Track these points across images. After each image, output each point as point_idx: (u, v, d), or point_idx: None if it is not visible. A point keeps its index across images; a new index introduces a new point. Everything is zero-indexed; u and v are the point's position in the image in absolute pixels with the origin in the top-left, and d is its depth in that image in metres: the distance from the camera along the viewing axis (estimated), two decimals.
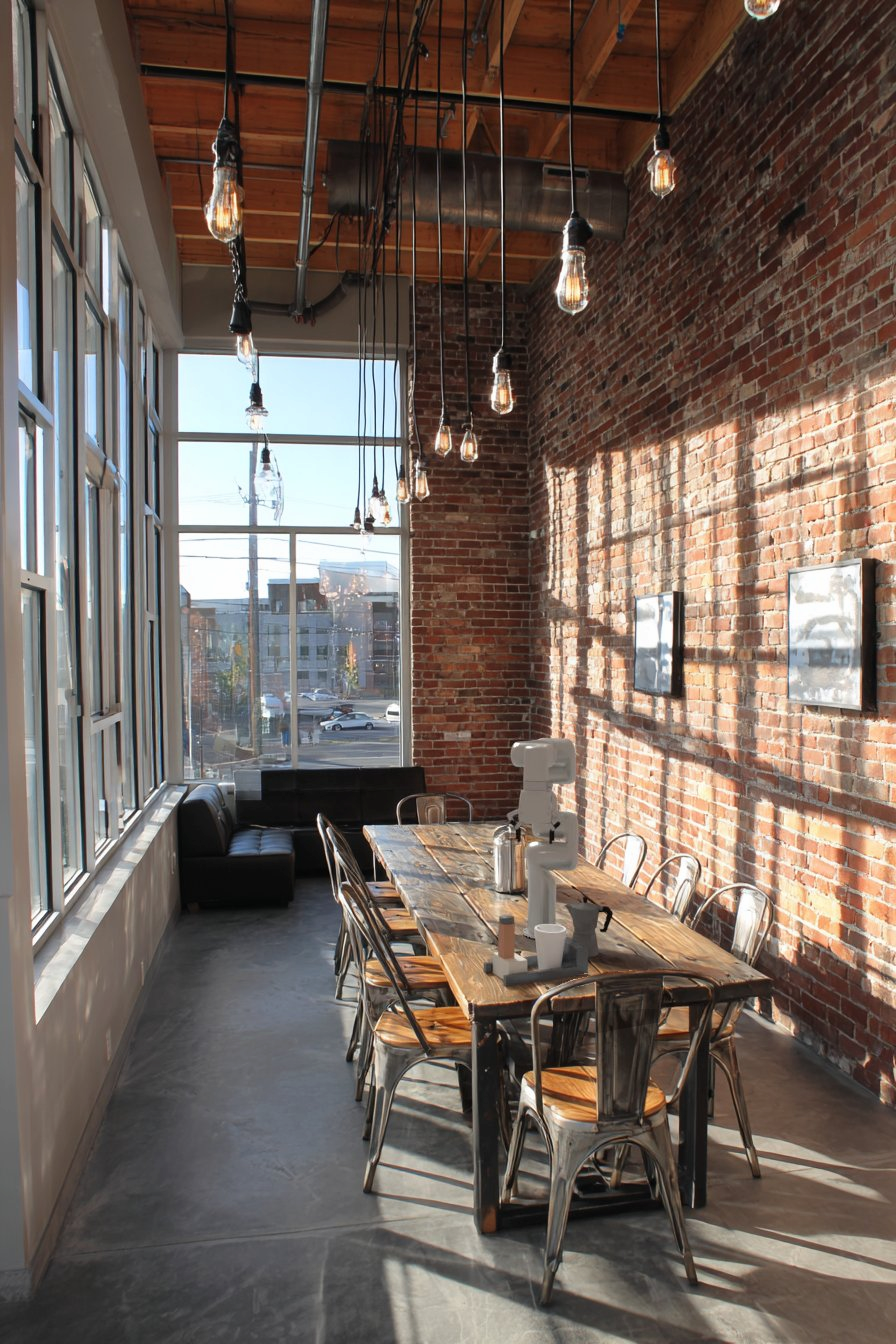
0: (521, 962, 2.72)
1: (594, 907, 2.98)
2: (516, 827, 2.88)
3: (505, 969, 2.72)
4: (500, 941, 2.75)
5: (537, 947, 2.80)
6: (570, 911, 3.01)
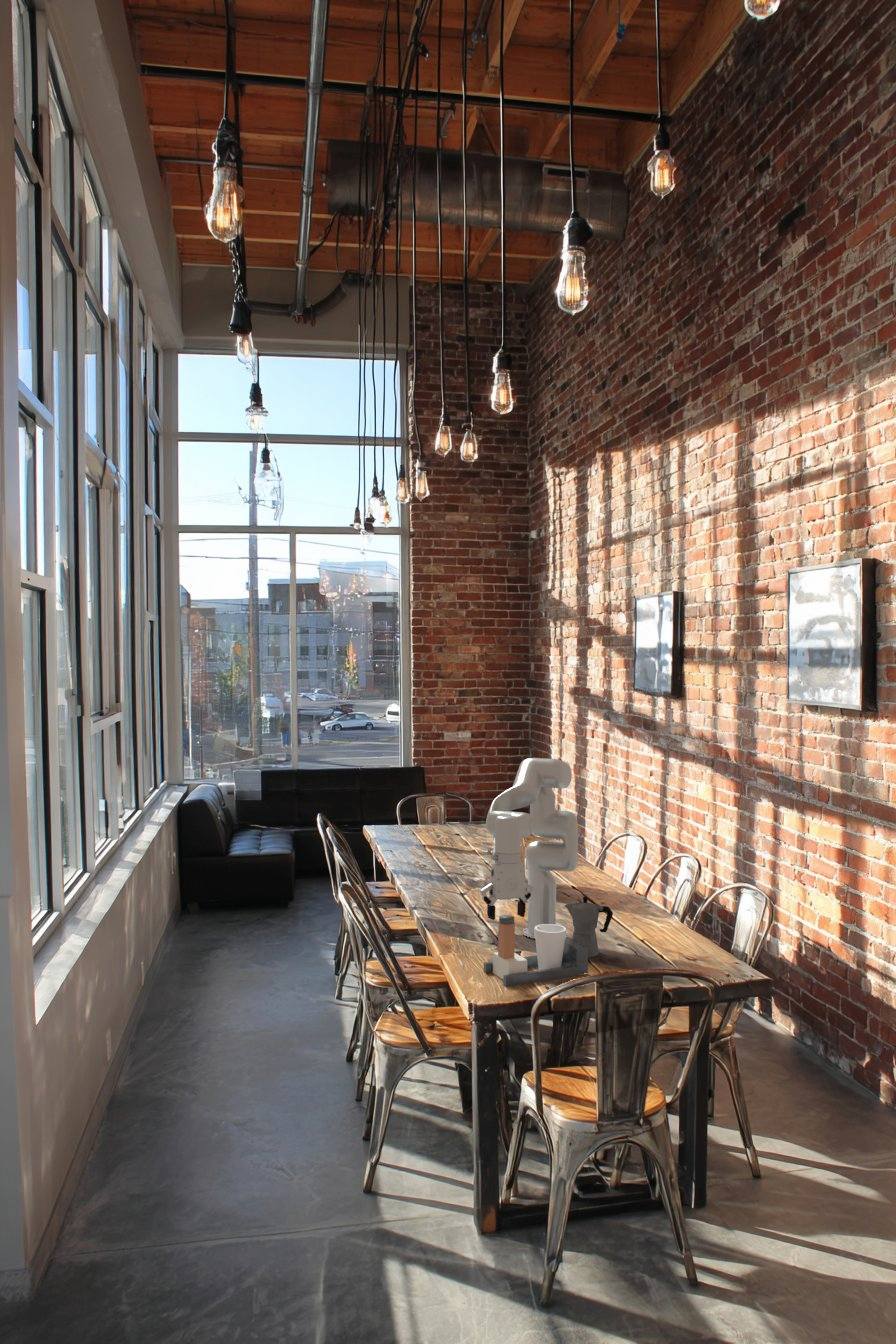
0: (521, 962, 2.72)
1: (594, 907, 2.98)
2: None
3: (505, 969, 2.72)
4: (500, 941, 2.75)
5: (537, 947, 2.80)
6: (570, 911, 3.01)
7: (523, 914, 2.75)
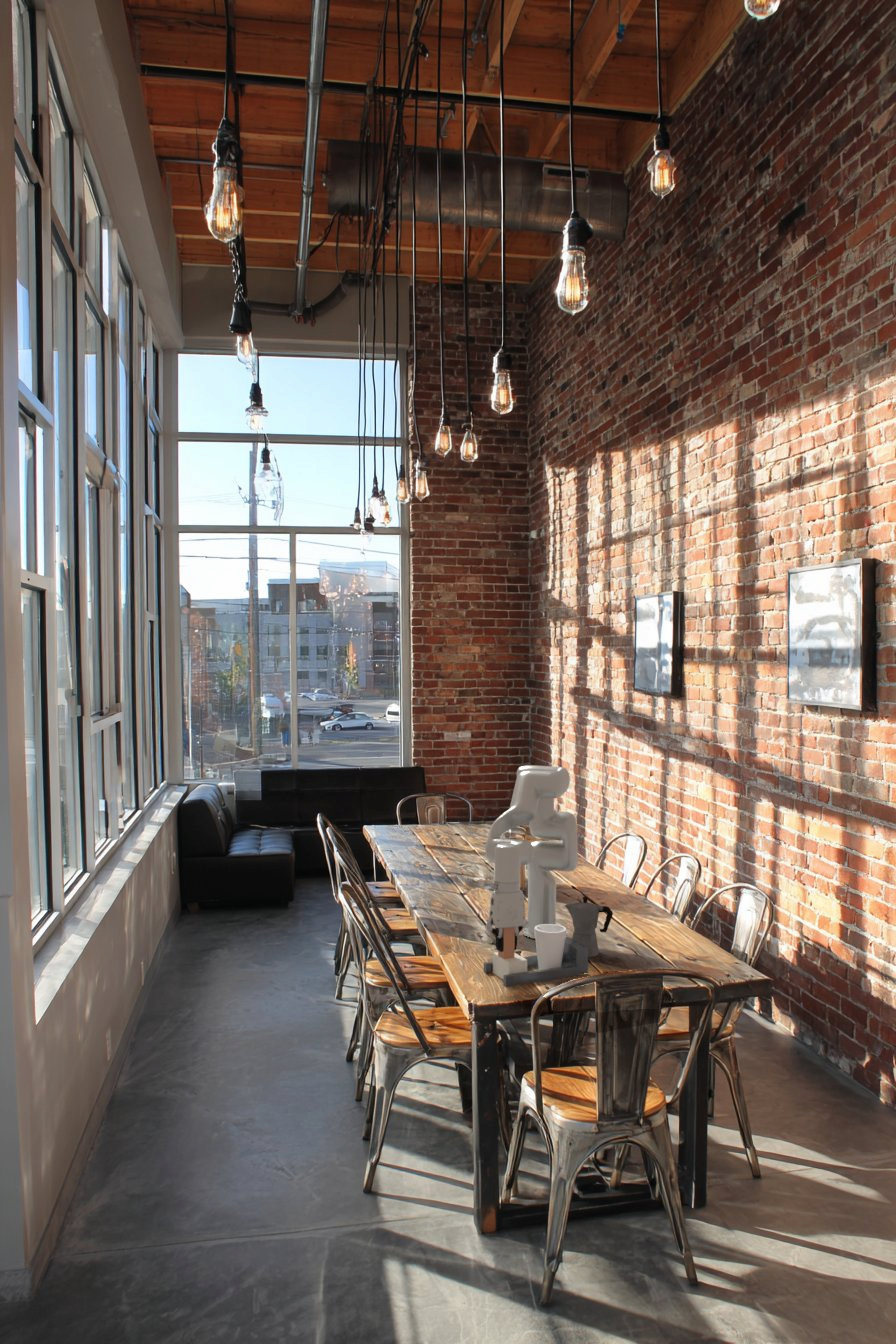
0: (521, 962, 2.72)
1: (594, 907, 2.98)
2: None
3: (505, 969, 2.72)
4: None
5: (537, 947, 2.80)
6: (570, 911, 3.01)
7: (515, 947, 2.75)
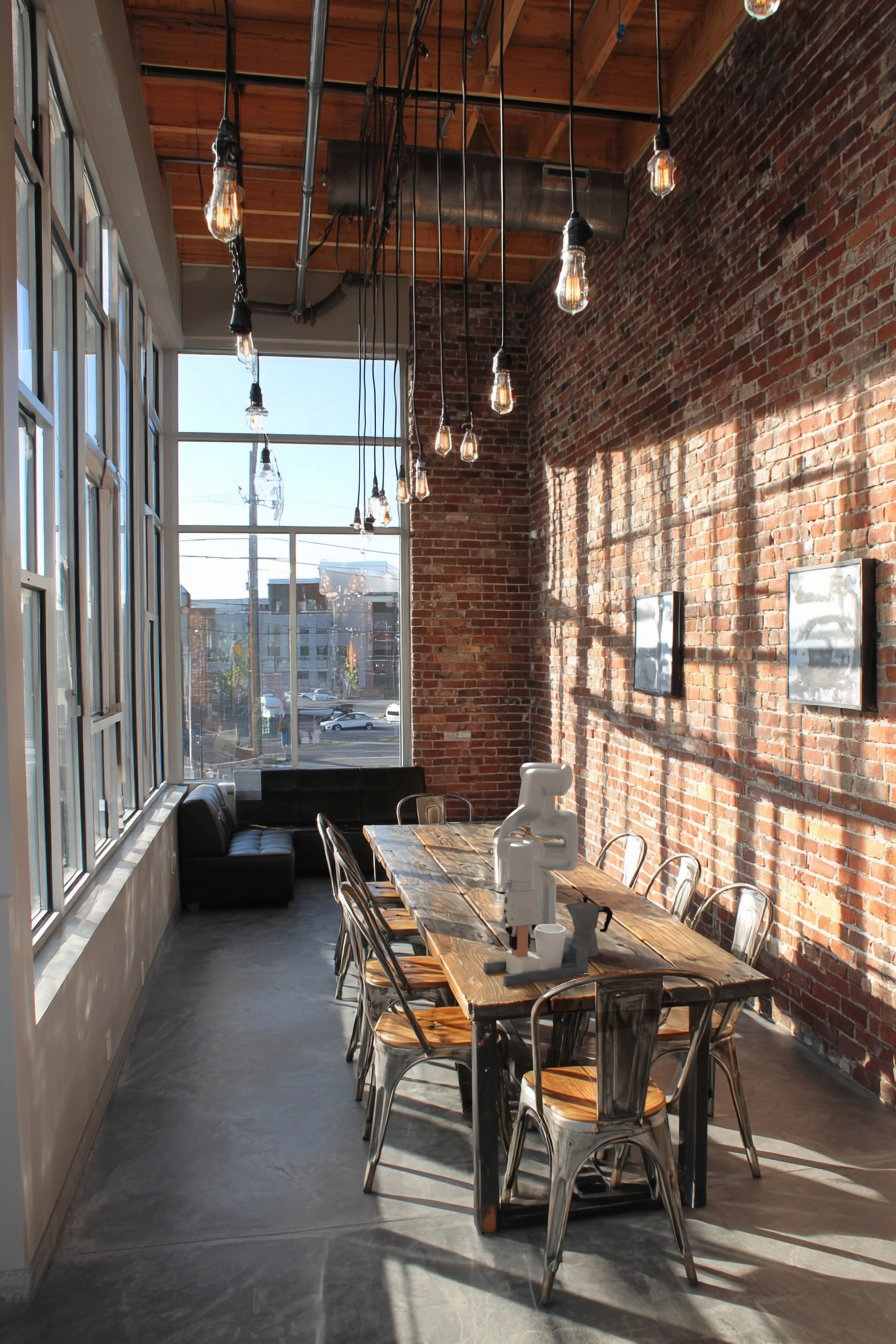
0: (534, 960, 2.73)
1: (594, 907, 2.98)
2: None
3: (518, 967, 2.74)
4: None
5: (537, 947, 2.80)
6: (570, 911, 3.01)
7: (528, 945, 2.76)
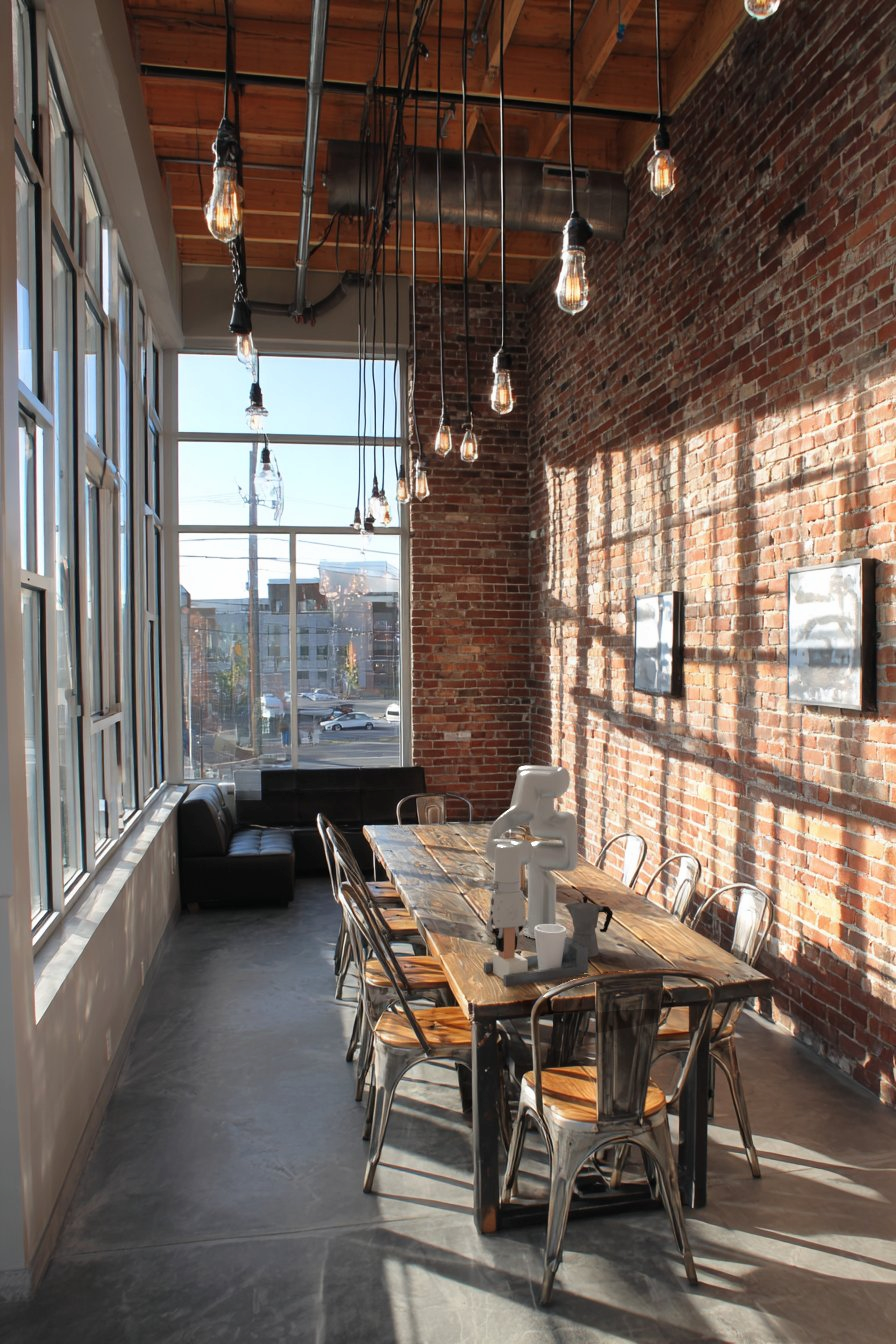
0: (521, 962, 2.72)
1: (594, 907, 2.98)
2: None
3: (505, 969, 2.72)
4: None
5: (537, 947, 2.80)
6: (570, 911, 3.01)
7: (515, 947, 2.75)
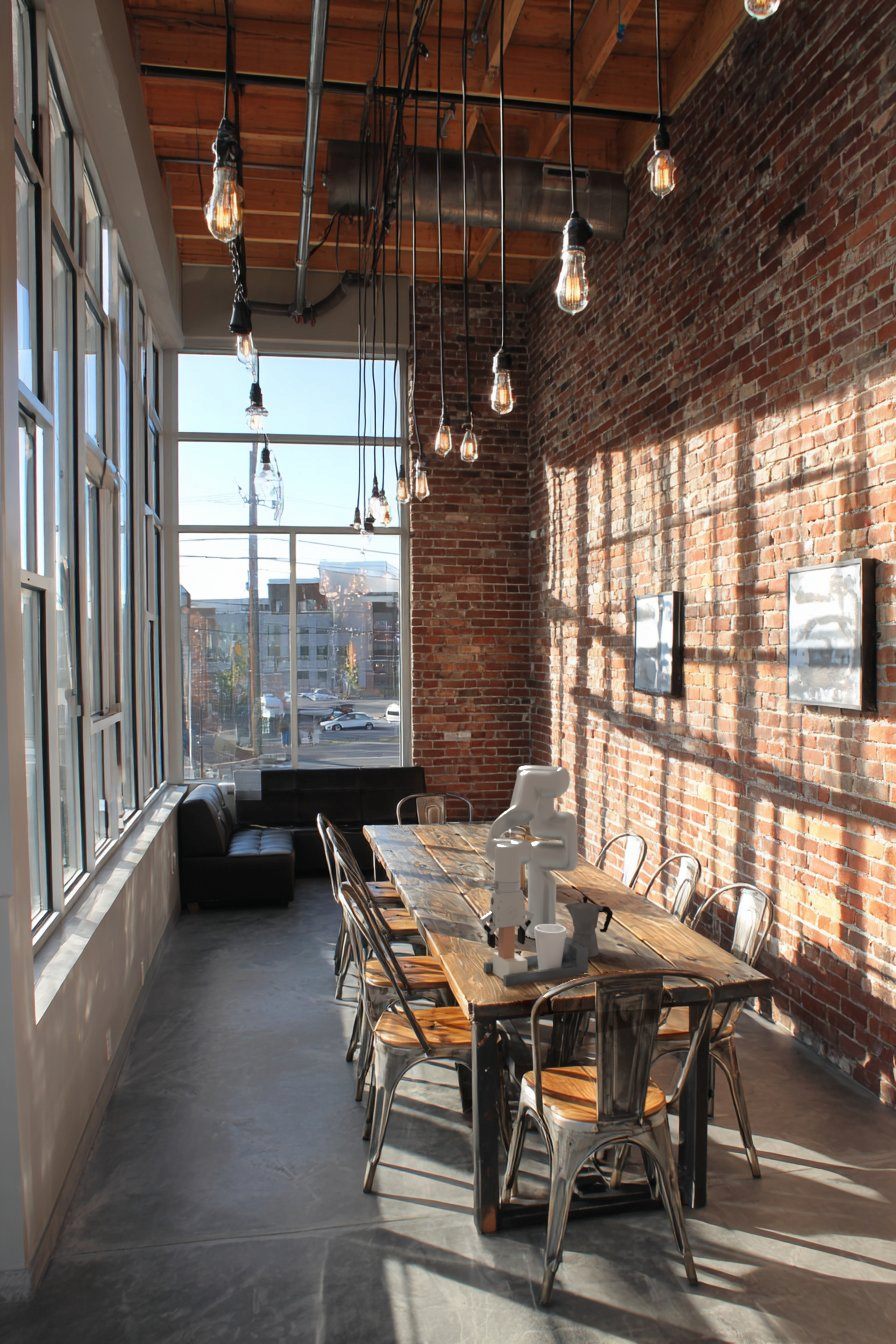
0: (521, 962, 2.72)
1: (594, 907, 2.98)
2: None
3: (505, 969, 2.72)
4: (500, 941, 2.75)
5: (537, 947, 2.80)
6: (570, 911, 3.01)
7: (523, 941, 2.76)
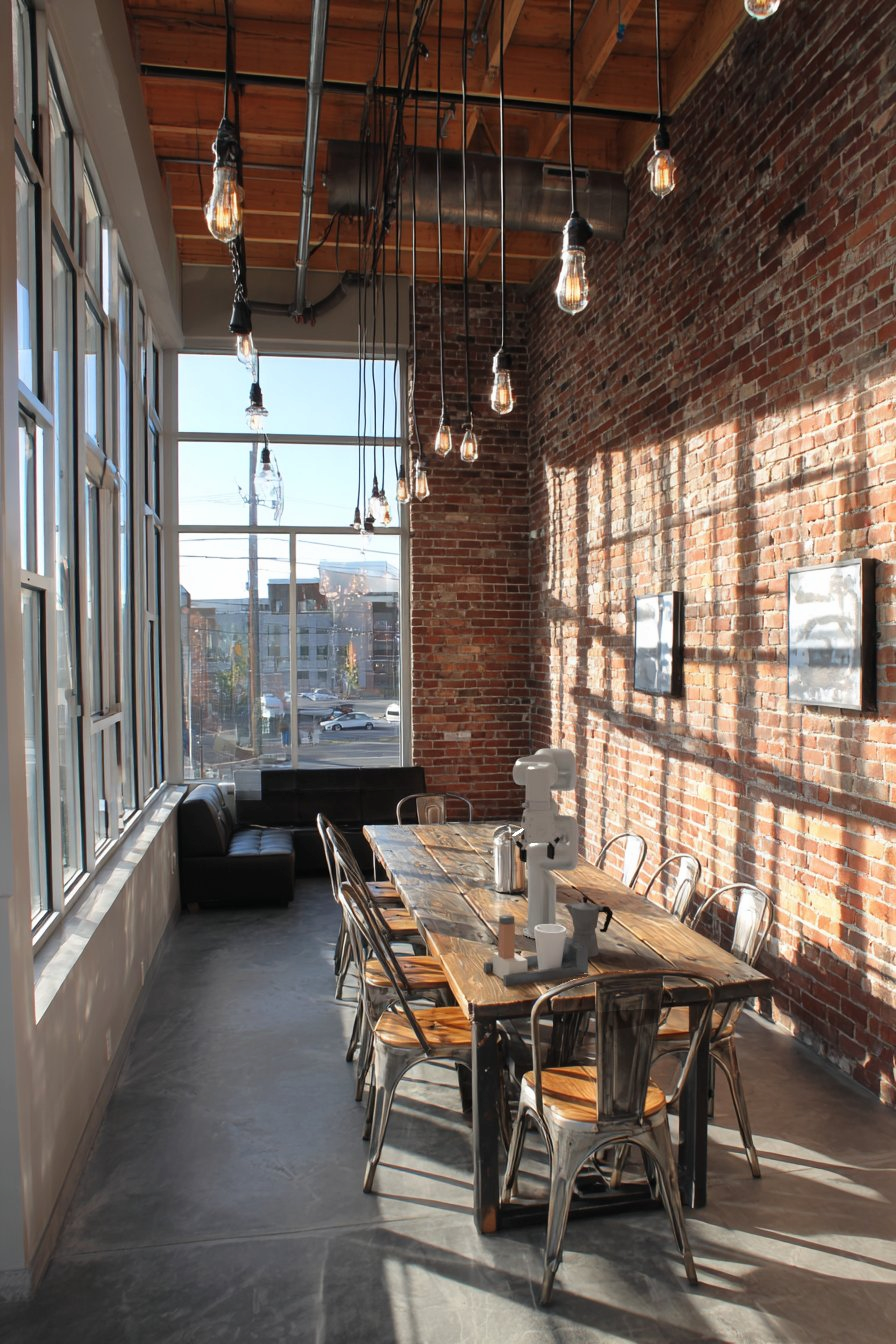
0: (521, 962, 2.72)
1: (594, 907, 2.98)
2: None
3: (505, 969, 2.72)
4: (500, 941, 2.75)
5: (537, 947, 2.80)
6: (570, 911, 3.01)
7: (553, 857, 2.96)
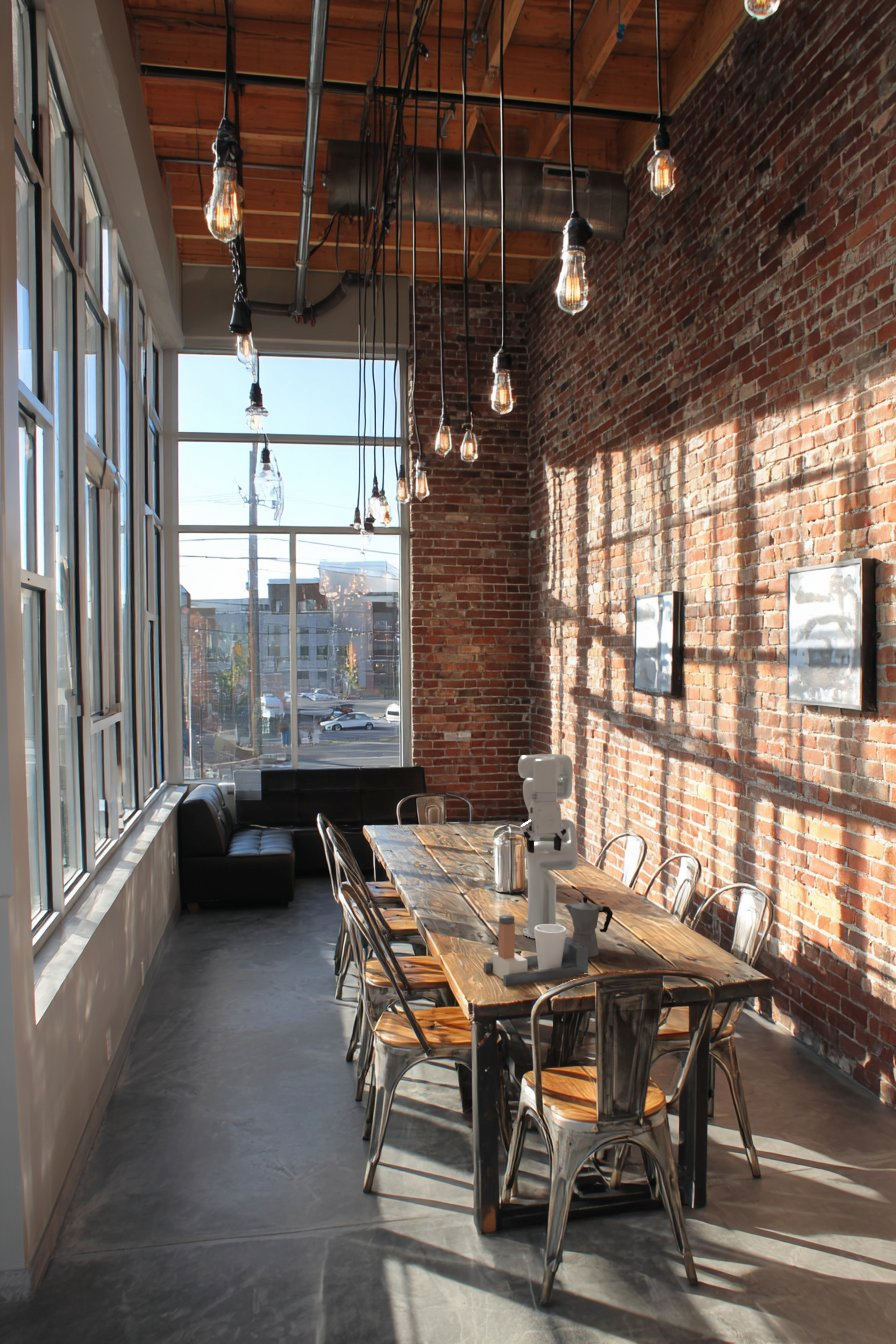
0: (521, 962, 2.72)
1: (594, 907, 2.98)
2: None
3: (505, 969, 2.72)
4: (500, 941, 2.75)
5: (537, 947, 2.80)
6: (570, 911, 3.01)
7: (559, 848, 3.00)
